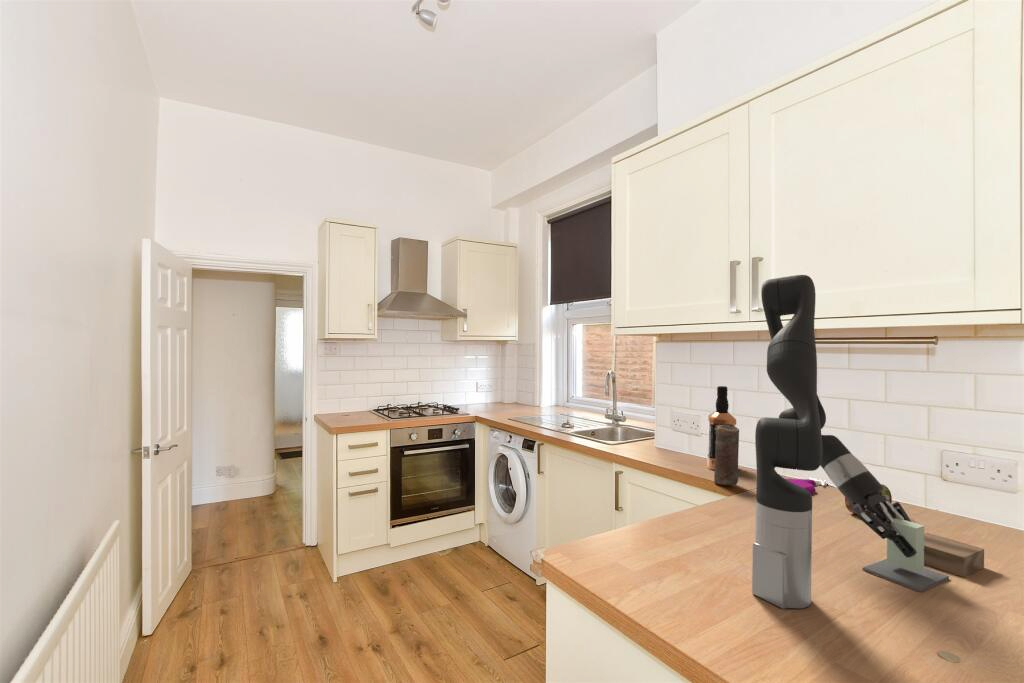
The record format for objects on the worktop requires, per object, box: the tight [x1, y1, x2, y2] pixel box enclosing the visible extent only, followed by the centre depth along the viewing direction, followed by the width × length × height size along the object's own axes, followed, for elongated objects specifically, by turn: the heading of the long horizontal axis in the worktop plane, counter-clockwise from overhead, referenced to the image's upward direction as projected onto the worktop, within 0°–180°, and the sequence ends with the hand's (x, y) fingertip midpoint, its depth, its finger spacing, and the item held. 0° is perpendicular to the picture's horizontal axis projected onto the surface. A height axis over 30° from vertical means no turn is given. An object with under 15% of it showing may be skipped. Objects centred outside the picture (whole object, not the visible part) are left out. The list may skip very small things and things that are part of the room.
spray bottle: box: [785, 477, 828, 495], centre depth 162 cm, size 3×11×24 cm
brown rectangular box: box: [924, 532, 985, 578], centre depth 106 cm, size 10×10×4 cm
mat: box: [862, 558, 950, 593], centre depth 100 cm, size 12×10×1 cm
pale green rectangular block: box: [886, 518, 925, 573], centre depth 100 cm, size 4×5×9 cm
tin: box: [844, 483, 893, 516], centre depth 138 cm, size 15×3×8 cm, turn 105°
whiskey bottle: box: [706, 385, 737, 471], centre depth 188 cm, size 10×10×32 cm
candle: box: [713, 425, 740, 487], centre depth 164 cm, size 8×7×20 cm
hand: (916, 553), depth 98 cm, fingers closed on pale green rectangular block, 3 cm apart
